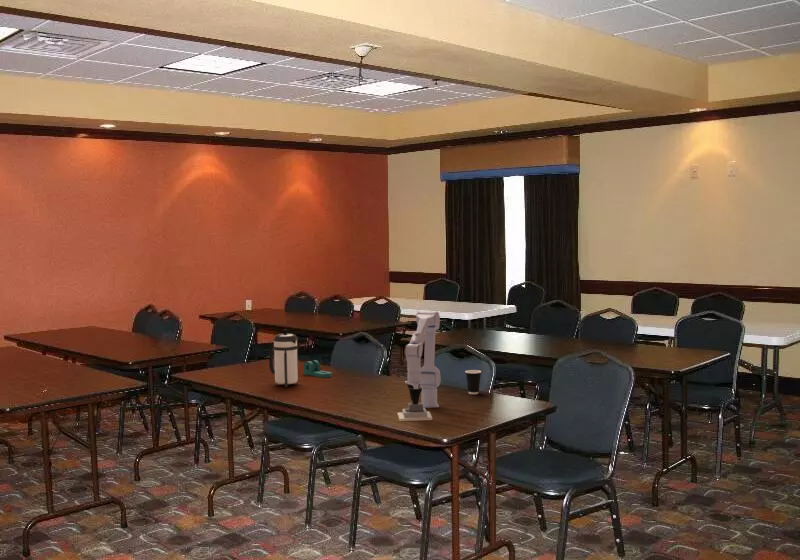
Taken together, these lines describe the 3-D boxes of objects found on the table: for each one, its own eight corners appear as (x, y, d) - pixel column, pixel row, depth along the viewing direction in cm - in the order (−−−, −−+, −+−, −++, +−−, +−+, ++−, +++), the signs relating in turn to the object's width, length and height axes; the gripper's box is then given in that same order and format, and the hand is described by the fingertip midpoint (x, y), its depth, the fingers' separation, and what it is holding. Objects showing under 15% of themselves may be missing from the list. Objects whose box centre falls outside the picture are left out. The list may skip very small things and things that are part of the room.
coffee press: (302, 381, 439) (300, 326, 437) (299, 387, 423) (297, 330, 421) (269, 382, 438) (268, 327, 436) (265, 388, 422) (264, 331, 420)
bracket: (303, 374, 461) (303, 361, 460) (312, 373, 466) (312, 359, 465) (325, 378, 448) (324, 364, 448) (334, 376, 453) (333, 362, 453)
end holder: (397, 414, 358) (397, 408, 358) (429, 413, 360) (428, 406, 359) (399, 421, 347) (399, 414, 346) (432, 420, 348) (432, 413, 348)
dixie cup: (484, 392, 403) (484, 370, 402) (476, 395, 396) (476, 373, 395) (470, 391, 407) (469, 369, 406) (462, 393, 401) (462, 371, 400)
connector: (408, 414, 355) (408, 402, 355) (422, 413, 355) (421, 402, 355) (409, 416, 351) (409, 404, 351) (423, 415, 351) (422, 404, 351)
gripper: (403, 368, 359) (403, 398, 360) (406, 374, 344) (407, 406, 345) (419, 368, 359) (419, 398, 360) (422, 374, 345) (423, 405, 346)
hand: (414, 402), depth 353 cm, fingers open, 7 cm apart
